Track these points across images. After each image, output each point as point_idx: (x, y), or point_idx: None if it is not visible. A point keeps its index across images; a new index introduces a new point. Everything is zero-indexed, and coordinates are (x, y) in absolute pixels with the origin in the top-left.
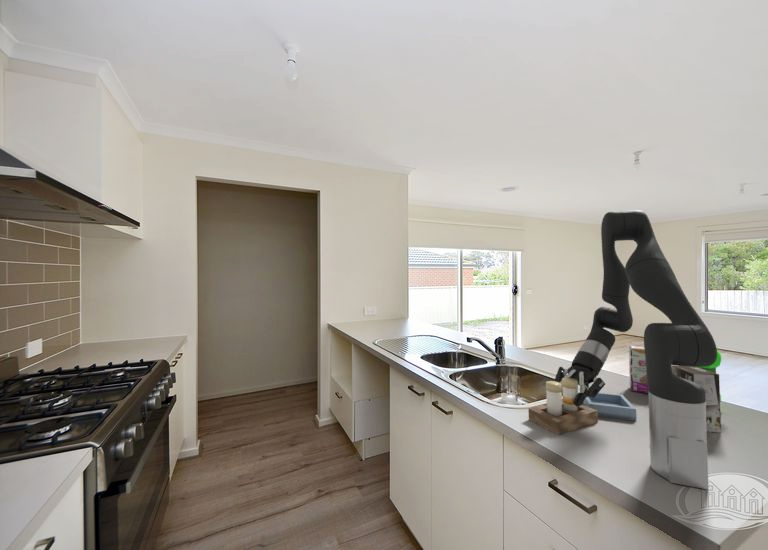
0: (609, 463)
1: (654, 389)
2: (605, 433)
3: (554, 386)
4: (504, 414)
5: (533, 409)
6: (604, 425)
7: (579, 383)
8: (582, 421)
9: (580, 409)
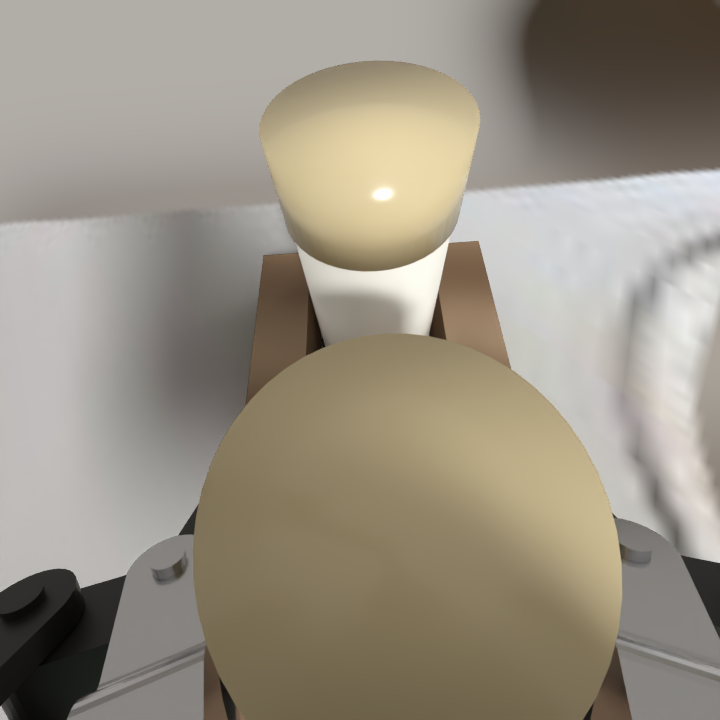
0: (45, 301)
1: None
2: None
3: (297, 91)
4: (553, 230)
5: (453, 254)
6: None
7: (201, 675)
8: None
9: None
